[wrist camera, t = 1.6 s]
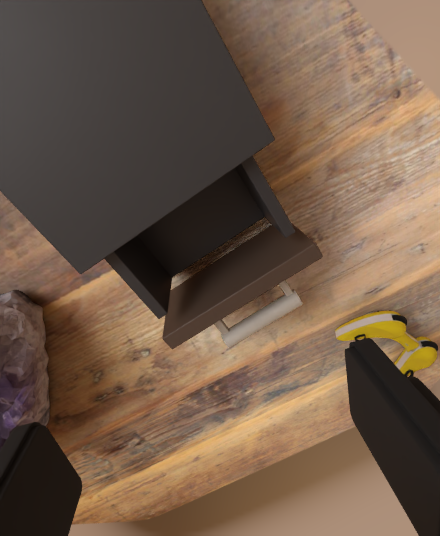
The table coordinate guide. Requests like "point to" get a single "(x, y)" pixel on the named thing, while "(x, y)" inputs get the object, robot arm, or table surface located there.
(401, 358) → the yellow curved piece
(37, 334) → the geode
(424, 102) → the table surface
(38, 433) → the robot arm
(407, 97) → the table surface
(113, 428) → the table surface
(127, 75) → the cabinet
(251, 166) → the drawer
